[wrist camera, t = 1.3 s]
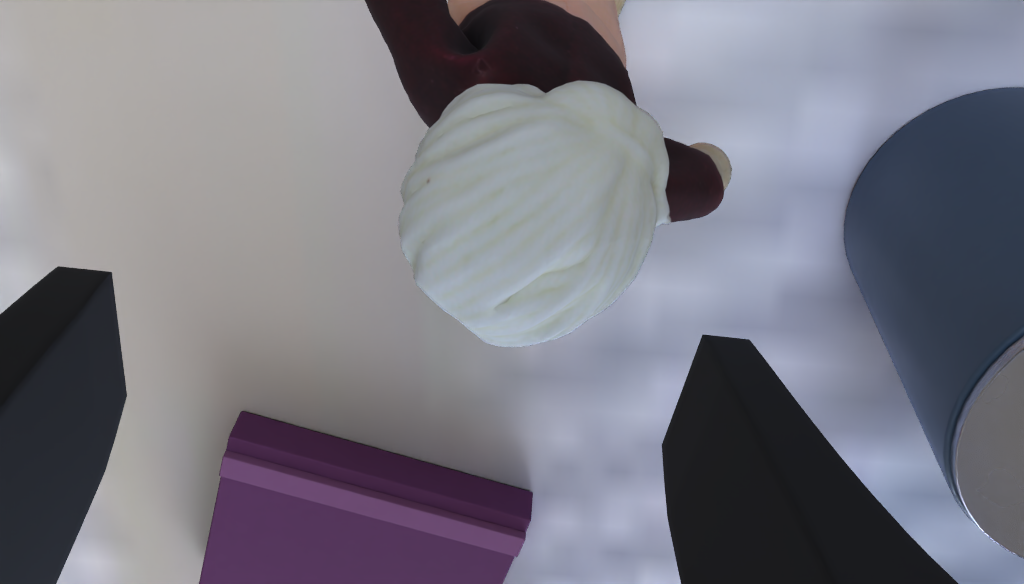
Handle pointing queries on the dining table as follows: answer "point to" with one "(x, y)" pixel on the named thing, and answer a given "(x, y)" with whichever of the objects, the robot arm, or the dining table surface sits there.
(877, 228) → the tin can
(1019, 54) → the dining table surface
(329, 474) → the purple box
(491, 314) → the grandmother figurine
